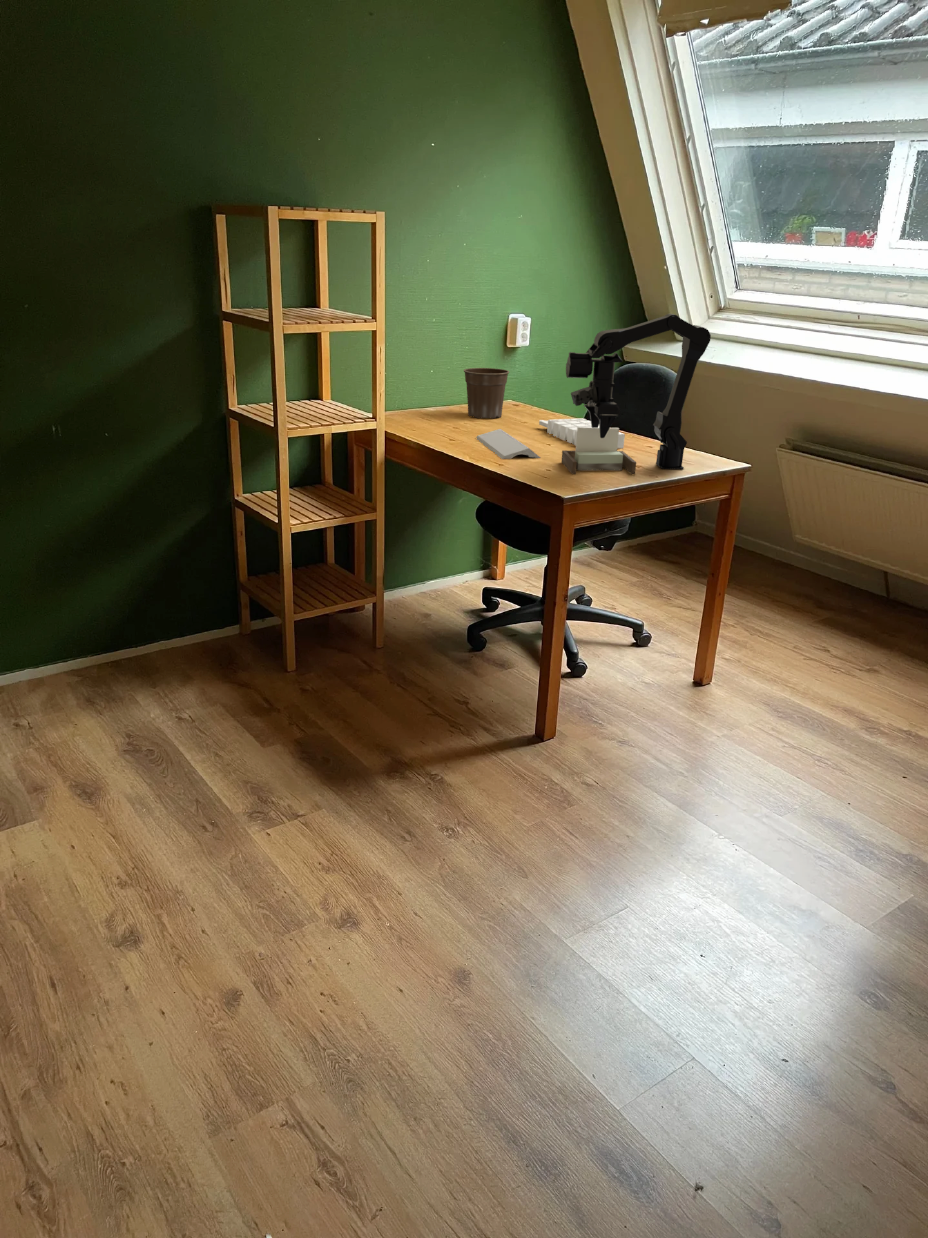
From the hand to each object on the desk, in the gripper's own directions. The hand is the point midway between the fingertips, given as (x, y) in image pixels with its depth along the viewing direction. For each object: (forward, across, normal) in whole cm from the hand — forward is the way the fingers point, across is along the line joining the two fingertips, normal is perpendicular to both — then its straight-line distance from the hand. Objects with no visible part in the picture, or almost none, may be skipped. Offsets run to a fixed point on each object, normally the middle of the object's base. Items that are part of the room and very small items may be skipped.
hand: (598, 434), depth 257 cm
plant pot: (+9, -75, -22) cm, 79 cm away
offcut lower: (+10, +4, 0) cm, 10 cm away
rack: (+9, +3, 0) cm, 10 cm away
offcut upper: (+7, +4, 0) cm, 8 cm away
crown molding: (+10, -23, -22) cm, 33 cm away
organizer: (+10, -39, +4) cm, 40 cm away
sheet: (+9, 0, 0) cm, 9 cm away
